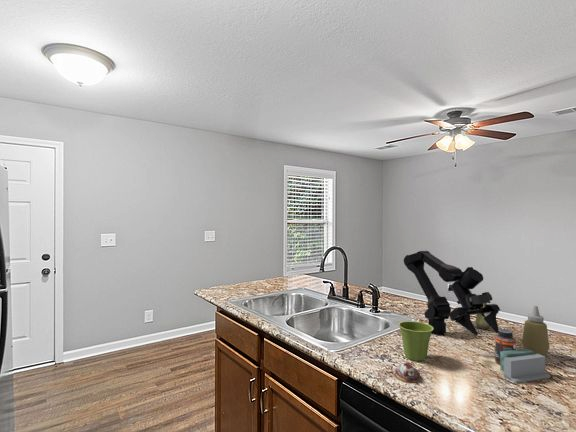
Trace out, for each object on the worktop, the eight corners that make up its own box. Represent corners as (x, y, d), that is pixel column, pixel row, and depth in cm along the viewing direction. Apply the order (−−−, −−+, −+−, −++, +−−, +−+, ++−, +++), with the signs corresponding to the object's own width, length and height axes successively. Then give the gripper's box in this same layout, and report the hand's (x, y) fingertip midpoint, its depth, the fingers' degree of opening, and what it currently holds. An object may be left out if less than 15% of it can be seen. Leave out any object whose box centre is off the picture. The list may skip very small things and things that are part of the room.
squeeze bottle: (516, 350, 123) (516, 303, 123) (536, 350, 124) (536, 303, 124) (534, 359, 115) (534, 309, 115) (555, 359, 116) (555, 309, 116)
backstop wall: (503, 376, 102) (504, 357, 102) (537, 372, 106) (537, 353, 106) (515, 383, 99) (515, 363, 99) (550, 377, 102) (550, 358, 102)
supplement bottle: (520, 368, 107) (520, 333, 107) (503, 368, 106) (503, 334, 107) (506, 360, 113) (507, 327, 113) (490, 360, 112) (491, 327, 113)
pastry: (405, 385, 97) (405, 368, 97) (389, 373, 104) (389, 358, 104) (426, 380, 100) (426, 364, 100) (409, 370, 107) (409, 354, 107)
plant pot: (431, 353, 120) (431, 322, 120) (434, 367, 109) (435, 333, 109) (397, 348, 124) (398, 319, 124) (397, 361, 113) (398, 329, 113)
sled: (478, 361, 114) (478, 341, 114) (503, 358, 117) (503, 339, 117) (507, 375, 103) (507, 354, 103) (533, 372, 106) (533, 351, 106)
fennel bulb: (492, 329, 147) (493, 303, 147) (487, 331, 144) (487, 304, 144) (479, 326, 151) (479, 300, 151) (474, 328, 149) (474, 302, 149)
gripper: (455, 286, 119) (478, 326, 109) (496, 283, 124) (523, 321, 113) (440, 301, 127) (461, 340, 117) (479, 297, 132) (503, 334, 121)
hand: (487, 333), depth 117 cm, fingers open, 9 cm apart
